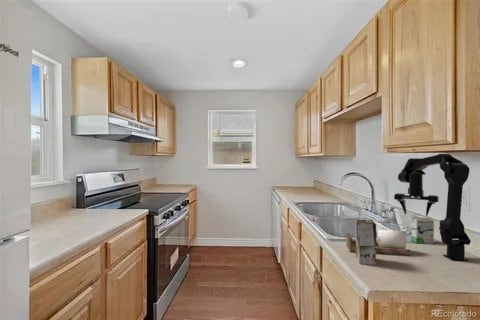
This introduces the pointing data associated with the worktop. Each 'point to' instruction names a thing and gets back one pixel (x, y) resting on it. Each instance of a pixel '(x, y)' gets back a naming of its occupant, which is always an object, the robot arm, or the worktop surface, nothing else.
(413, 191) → the robot arm
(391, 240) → the kitchen roll
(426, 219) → the ink box
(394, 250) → the brown tray
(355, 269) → the worktop surface
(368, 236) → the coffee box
